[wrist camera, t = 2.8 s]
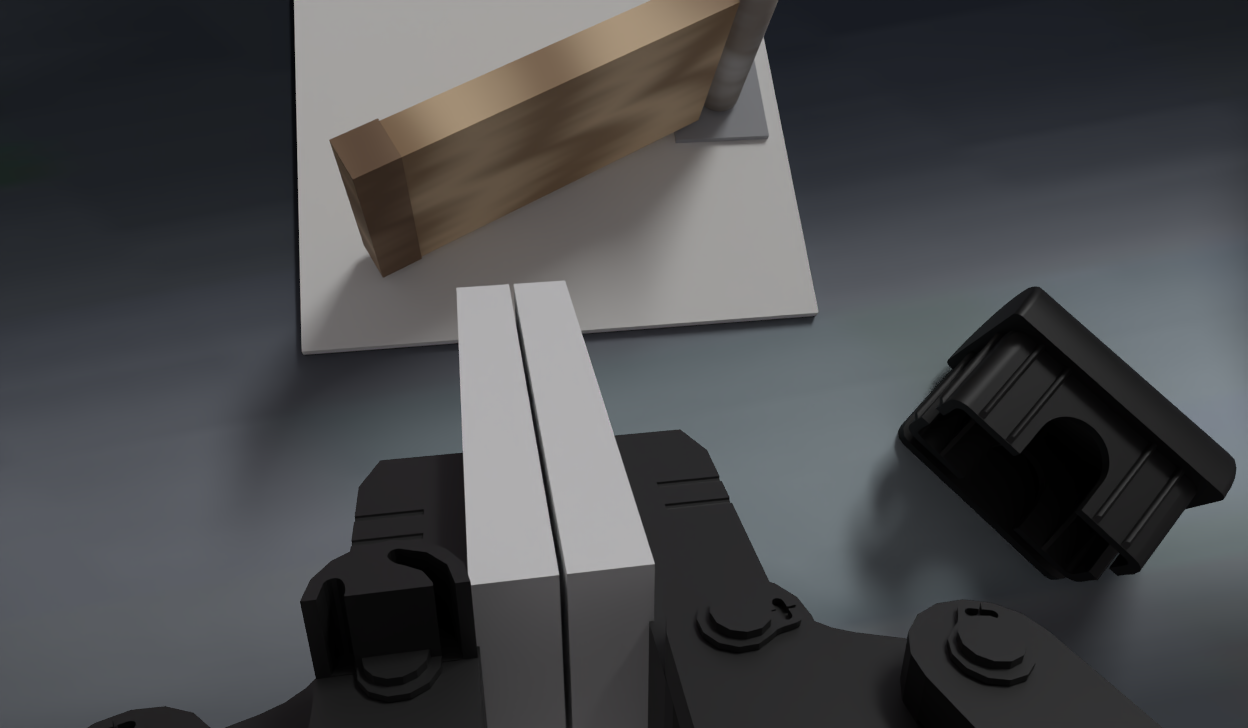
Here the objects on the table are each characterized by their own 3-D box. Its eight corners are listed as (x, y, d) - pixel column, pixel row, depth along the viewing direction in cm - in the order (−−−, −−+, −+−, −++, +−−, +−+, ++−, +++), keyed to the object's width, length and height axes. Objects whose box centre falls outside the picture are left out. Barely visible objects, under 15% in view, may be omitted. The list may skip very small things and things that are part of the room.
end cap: (1150, 477, 41) (1268, 441, 35) (1062, 594, 39) (1171, 579, 33) (978, 322, 43) (1061, 261, 36) (883, 427, 41) (954, 381, 34)
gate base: (736, -82, 48) (740, -92, 48) (815, 315, 42) (820, 310, 41) (293, -78, 45) (290, -89, 44) (303, 354, 38) (300, 349, 38)
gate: (722, 69, 44) (773, -73, 36) (746, 101, 44) (803, -34, 35) (362, 242, 39) (323, 124, 31) (384, 280, 39) (351, 172, 30)
